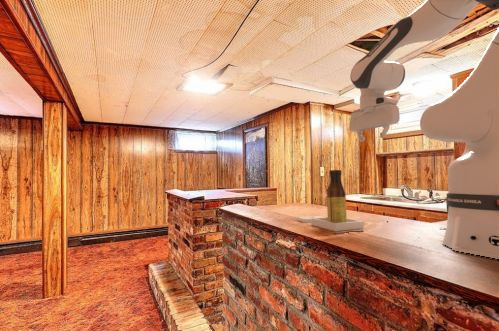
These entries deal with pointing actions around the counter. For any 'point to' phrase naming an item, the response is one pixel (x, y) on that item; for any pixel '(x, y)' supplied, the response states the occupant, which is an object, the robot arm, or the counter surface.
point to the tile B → (304, 219)
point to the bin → (338, 225)
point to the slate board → (300, 221)
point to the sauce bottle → (336, 198)
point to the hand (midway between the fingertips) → (372, 139)
